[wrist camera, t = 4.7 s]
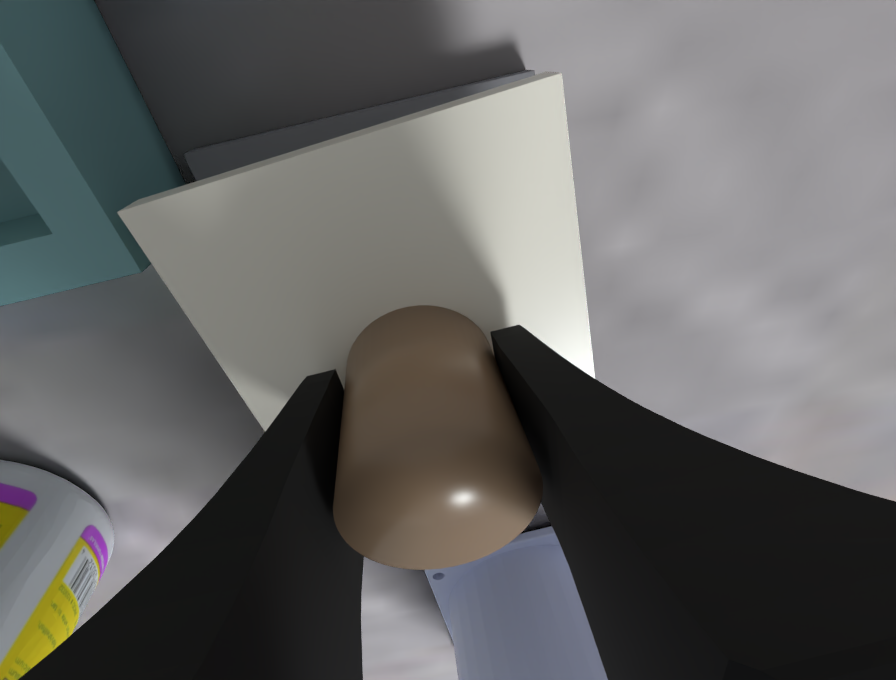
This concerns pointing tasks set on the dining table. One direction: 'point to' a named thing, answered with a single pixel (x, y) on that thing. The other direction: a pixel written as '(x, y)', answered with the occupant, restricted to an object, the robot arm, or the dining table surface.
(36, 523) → the supplement bottle
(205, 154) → the pad
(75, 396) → the dining table surface
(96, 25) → the box
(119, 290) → the dining table surface
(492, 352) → the lid
